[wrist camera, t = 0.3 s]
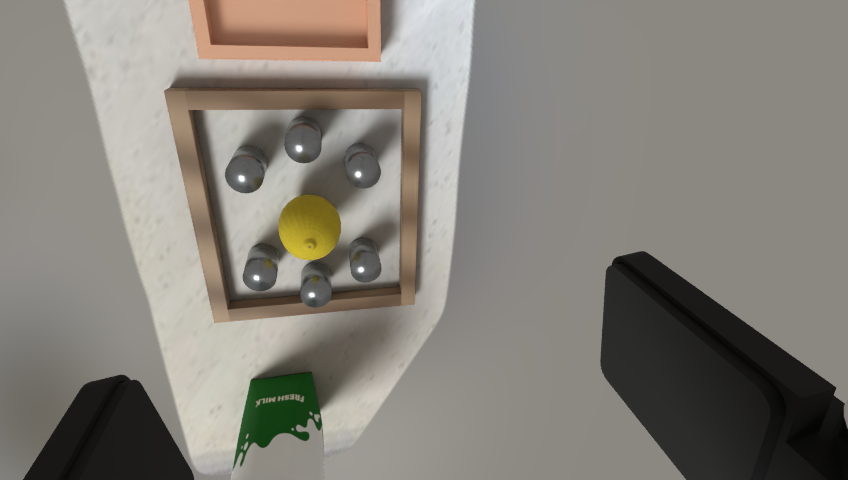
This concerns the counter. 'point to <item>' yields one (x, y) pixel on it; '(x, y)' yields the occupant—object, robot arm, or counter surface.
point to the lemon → (309, 227)
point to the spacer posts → (264, 258)
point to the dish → (287, 29)
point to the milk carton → (280, 431)
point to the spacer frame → (293, 98)
